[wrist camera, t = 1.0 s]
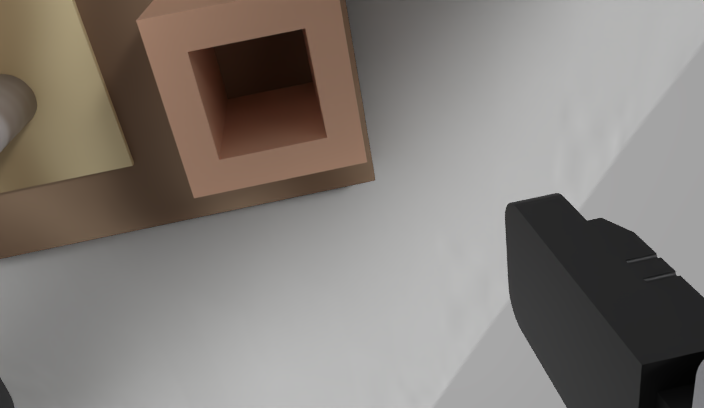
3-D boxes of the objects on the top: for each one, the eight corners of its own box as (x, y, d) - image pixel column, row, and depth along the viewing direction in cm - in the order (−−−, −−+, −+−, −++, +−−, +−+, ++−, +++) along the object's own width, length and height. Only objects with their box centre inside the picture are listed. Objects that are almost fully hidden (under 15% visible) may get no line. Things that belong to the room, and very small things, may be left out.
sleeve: (318, -44, 23) (336, -20, 17) (344, 102, 25) (367, 162, 20) (164, -14, 23) (136, 20, 17) (207, 130, 25) (193, 198, 20)
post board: (314, -163, 22) (345, -183, 14) (369, 166, 28) (413, 279, 21) (-170, -71, 22) (-420, -39, 14) (-6, 244, 28) (-113, 393, 20)
